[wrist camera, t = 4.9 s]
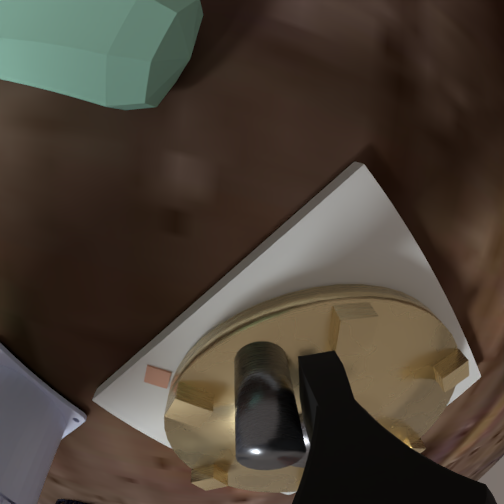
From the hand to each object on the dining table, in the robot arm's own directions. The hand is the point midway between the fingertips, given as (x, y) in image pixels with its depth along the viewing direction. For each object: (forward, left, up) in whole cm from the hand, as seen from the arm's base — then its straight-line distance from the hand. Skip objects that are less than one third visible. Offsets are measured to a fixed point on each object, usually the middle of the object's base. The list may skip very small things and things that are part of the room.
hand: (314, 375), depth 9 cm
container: (-1, +21, -5) cm, 22 cm away
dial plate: (-3, -6, -5) cm, 8 cm away
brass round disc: (-3, -6, -3) cm, 7 cm away
